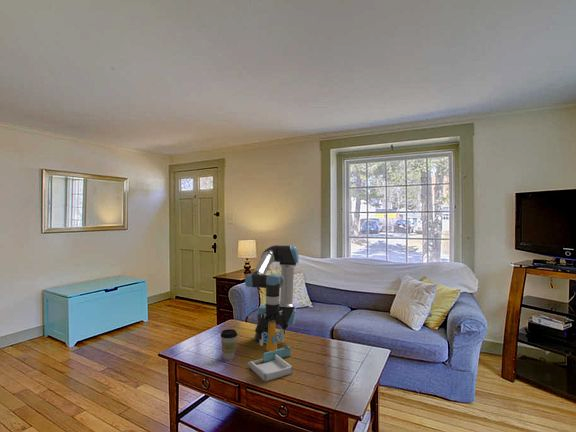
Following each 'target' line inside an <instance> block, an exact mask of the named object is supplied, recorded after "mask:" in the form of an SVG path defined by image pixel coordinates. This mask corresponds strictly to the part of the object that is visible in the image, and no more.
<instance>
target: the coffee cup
mask: <svg viewBox="0 0 576 432" xmlns="http://www.w3.org/2000/svg"><path fill="white" fill-rule="evenodd" d="M220 337H221V349H222V352H221V353H222V359H224V360H232V359H233V358H234V357H235V356H234V355H235V351H236V345H237V344H236V343H237V337H238V333H237V330H235V329H232V328H231V329H230V328H229V329H224V330H222V331H221V333H220Z"/></svg>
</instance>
